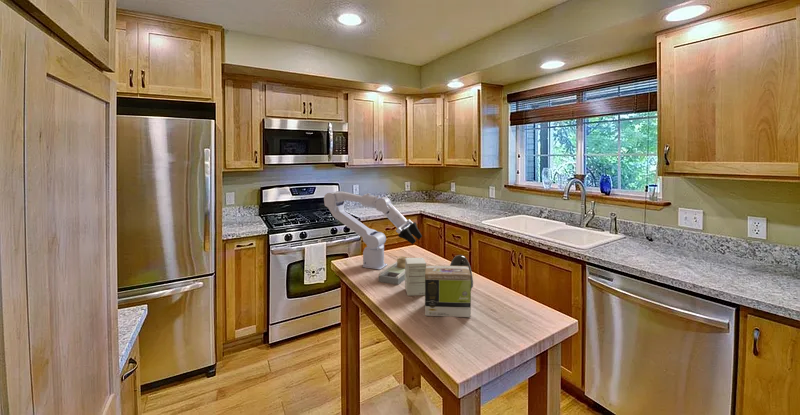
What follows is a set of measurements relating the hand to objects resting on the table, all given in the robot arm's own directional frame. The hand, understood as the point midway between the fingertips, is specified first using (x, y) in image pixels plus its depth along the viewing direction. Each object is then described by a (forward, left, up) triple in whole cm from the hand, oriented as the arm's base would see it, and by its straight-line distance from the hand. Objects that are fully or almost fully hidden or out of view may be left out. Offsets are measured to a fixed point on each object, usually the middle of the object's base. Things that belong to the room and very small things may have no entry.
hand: (417, 240), depth 161 cm
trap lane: (-6, -6, -14) cm, 17 cm away
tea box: (+24, -33, -15) cm, 43 cm away
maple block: (-6, -3, -12) cm, 14 cm away
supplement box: (+8, -22, -15) cm, 28 cm away
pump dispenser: (+24, -17, -15) cm, 33 cm away
